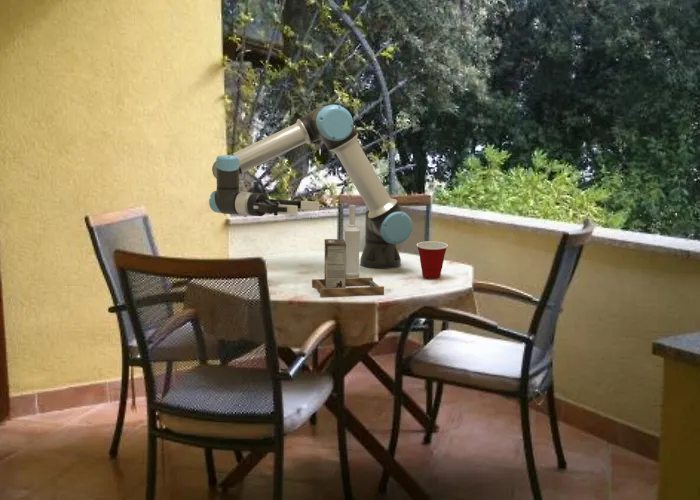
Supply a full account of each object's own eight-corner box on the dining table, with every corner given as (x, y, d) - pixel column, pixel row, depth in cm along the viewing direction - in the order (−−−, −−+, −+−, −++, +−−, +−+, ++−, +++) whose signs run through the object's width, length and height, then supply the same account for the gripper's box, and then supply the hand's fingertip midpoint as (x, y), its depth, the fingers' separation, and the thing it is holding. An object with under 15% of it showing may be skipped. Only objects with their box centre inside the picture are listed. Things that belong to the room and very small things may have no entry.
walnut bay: (371, 284, 262) (371, 277, 262) (383, 294, 247) (384, 286, 247) (312, 287, 258) (312, 279, 257) (320, 297, 243) (320, 289, 242)
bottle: (361, 277, 275) (362, 205, 270) (356, 279, 270) (357, 206, 266) (347, 275, 276) (347, 204, 272) (342, 278, 271) (342, 205, 267)
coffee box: (323, 288, 256) (324, 238, 253) (343, 288, 256) (344, 238, 254) (325, 294, 247) (325, 243, 244) (346, 294, 247) (346, 243, 245)
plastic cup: (415, 280, 269) (415, 245, 267) (415, 274, 280) (416, 240, 278) (447, 281, 268) (448, 246, 266) (447, 275, 279) (448, 241, 277)
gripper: (273, 211, 273) (327, 215, 263) (230, 219, 251) (287, 224, 241) (272, 190, 272) (327, 193, 262) (229, 195, 250) (287, 199, 240)
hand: (308, 208), depth 252 cm, fingers open, 13 cm apart
